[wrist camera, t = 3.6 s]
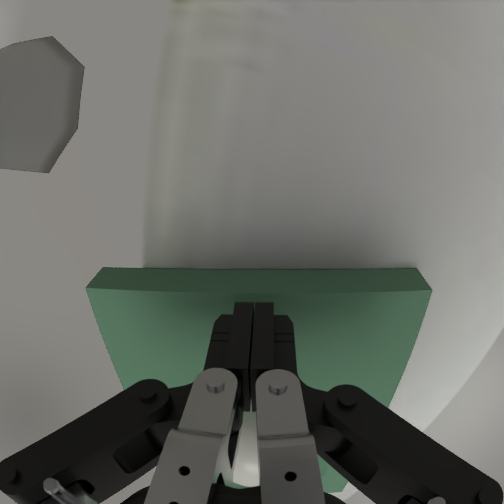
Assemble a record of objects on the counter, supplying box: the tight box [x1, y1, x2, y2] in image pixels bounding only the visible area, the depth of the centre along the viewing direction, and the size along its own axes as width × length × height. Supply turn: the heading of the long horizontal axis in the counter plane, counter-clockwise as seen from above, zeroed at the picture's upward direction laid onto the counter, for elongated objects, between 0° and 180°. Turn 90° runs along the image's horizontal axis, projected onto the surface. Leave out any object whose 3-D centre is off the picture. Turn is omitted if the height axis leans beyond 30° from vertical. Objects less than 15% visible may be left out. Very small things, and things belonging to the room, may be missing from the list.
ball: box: [233, 400, 259, 487], centre depth 15 cm, size 5×5×5 cm
